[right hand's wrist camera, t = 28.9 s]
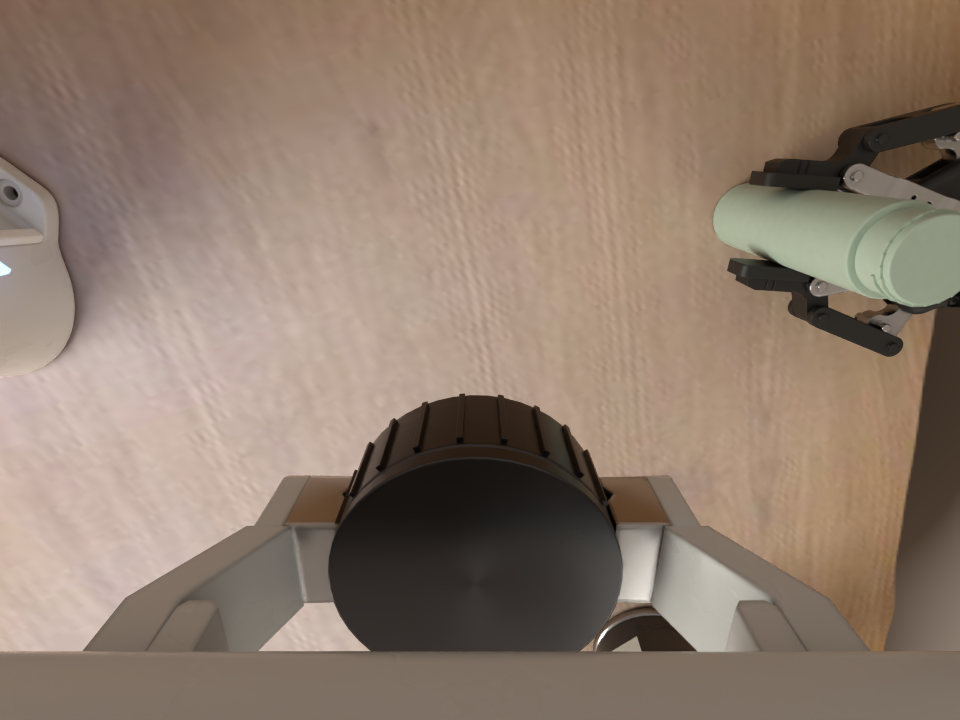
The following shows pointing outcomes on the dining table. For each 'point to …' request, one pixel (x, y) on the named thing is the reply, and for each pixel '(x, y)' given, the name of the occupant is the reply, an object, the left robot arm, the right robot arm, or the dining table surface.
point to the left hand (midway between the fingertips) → (746, 225)
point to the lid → (475, 534)
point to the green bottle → (848, 239)
